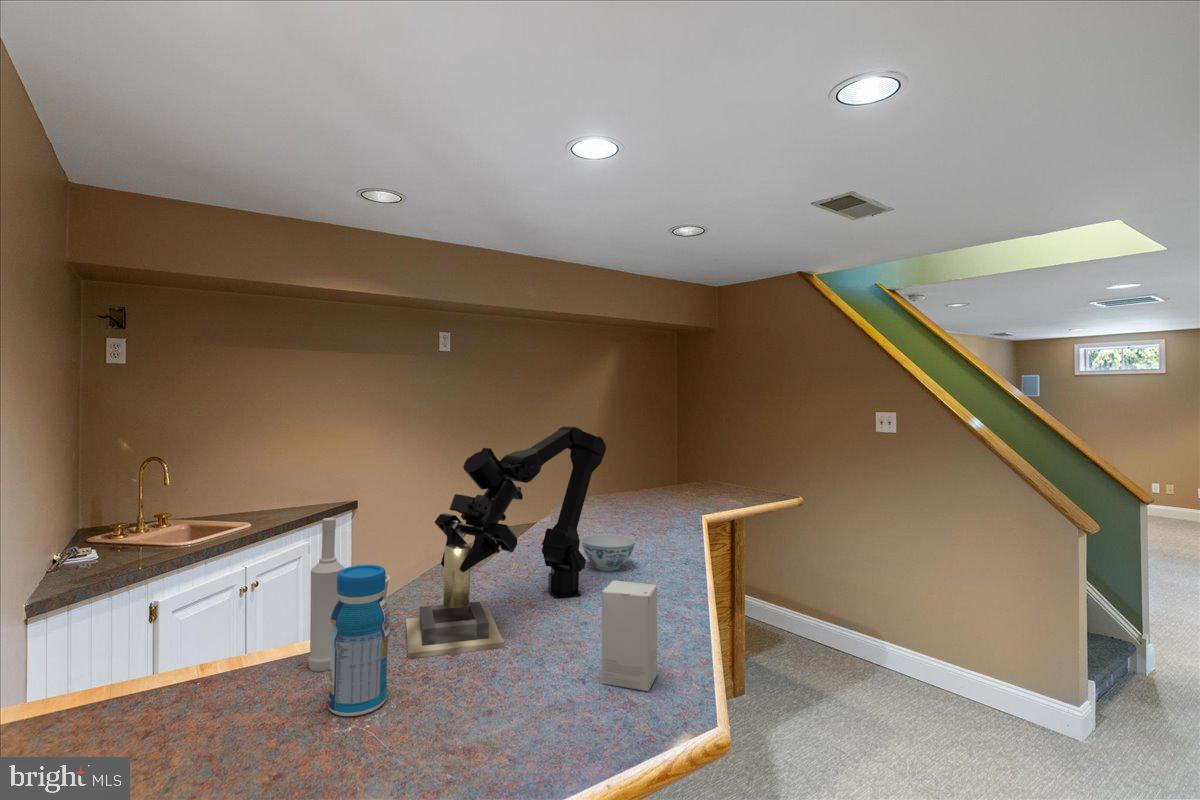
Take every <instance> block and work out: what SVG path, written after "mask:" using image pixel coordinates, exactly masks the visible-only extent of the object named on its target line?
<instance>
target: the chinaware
mask: <svg viewBox="0 0 1200 800" xmlns="http://www.w3.org/2000/svg"><path fill="white" fill-rule="evenodd" d="M635 544H636V540H635V539H634V538H632V537H629V536H627V535H621V534H616V533H613V534H611V533H599V534H598V533H597V534H590V535H586V536H583V537H582V538H581V545H582V549H583V552H584V553H585V556H586V557H587V558H588V560H589V561H590V562H591V563H592V564H594V565H595V569H598V571H599V570H600V571H604V572H605V571H606V572H612V571H618V570H619V569H620V568H621V565H623V564H624V563H625V562H627V560H628V559H629V558H630V557H631V556H632V553H633V551H634V549H635Z"/></svg>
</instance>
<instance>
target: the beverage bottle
mask: <svg viewBox="0 0 1200 800" xmlns="http://www.w3.org/2000/svg"><path fill="white" fill-rule="evenodd" d="M386 574H387V572H386V569H385V567H383V566H380V565H377V564H358V565H352V566H348V567H344V569H342V570H341V571H339V573H338V576H337V593H338V596H340V597H341V598H340V600H339V601H338V603H337V604H336V606H335V608H334V610H333V612H332V615H331V623H332V625H333V628H332V629H331V631H330V634H329V643H330V646H331V651H330V670H329V689H328V690H329V692H328V697H327V698H328V699H327V700H328V702H327V705H328V709H329V710H330V712H332V713H333V714H335V715H336V716H341V717H358V716H362V715H365V714H369V713H371V712H373V711H376V710H377V709H379V708H380V707H381V706H383V704H384V703H385V702H386V700H387V697H388V686H387V685H388V684H387V680H388V679H387V672H388V648H389V646H388V645H389V638H390V634H391V627H390V624H389V622H388V619H389V617H390V608H389V605H388V602H387V601H386V600H385V599H384V598H383V596H382V595H381V593H382V592H383V591H384V589H385V578H386Z"/></svg>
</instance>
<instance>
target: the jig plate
mask: <svg viewBox="0 0 1200 800" xmlns="http://www.w3.org/2000/svg"><path fill="white" fill-rule="evenodd" d="M493 617H494V616H493V615H492V613H491V611H490V610H484V607H483V605H482V604H481V601H473V602H472V601H470V603H469V604H468V605H467V606H464V607H460V608H449V607H445V606H444V605H443V604H438V605H428V606H427V605H425V606H420V607H419V617H411V618H405V630H406V631H405V632H406V633H405V634H406V644H407V645H406V647H407V659H408V660H410V659H419V658H427V657H436V656H443V655H444V656H445V655H453V654H462V653H469V652H477V651H486V650H493V649H496V650H497V649H503V648H505V641H504V639H503V636H502V635H501V633H500V632H501V631H499V628H498V626H497V624H496V622H495V619H494V618H493Z"/></svg>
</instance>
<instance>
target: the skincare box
mask: <svg viewBox="0 0 1200 800" xmlns="http://www.w3.org/2000/svg"><path fill="white" fill-rule="evenodd" d="M601 665H602V666H601V674H602V675H601V683H602V684H603V685H610V686H615V687H619V688H620V687H621V688H626V689H633V690H639V691H644V692H649V691H650V690H651V687H652V685H653V684H654V683H655V680H656V677H657V675H658V585H657V584H650V583H641V582H634V581H633V582H631V581H623V580H622V581H621V580H616V579H615V580H612V581H611V582H610V583H609V584H608V585H607V586H606V587H605V588H604V589H603V590H601Z"/></svg>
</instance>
